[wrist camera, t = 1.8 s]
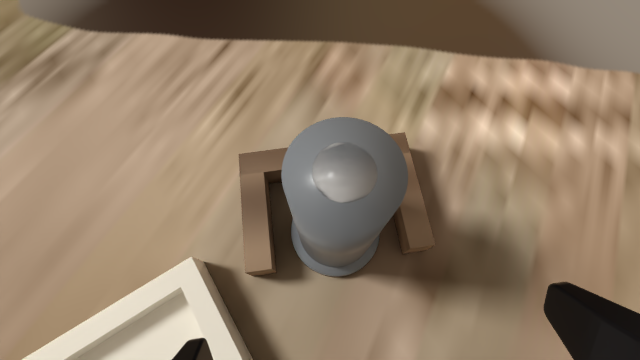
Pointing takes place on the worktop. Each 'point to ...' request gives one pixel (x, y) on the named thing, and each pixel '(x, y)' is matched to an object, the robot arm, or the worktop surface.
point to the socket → (268, 169)
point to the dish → (155, 322)
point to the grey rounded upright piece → (342, 192)
